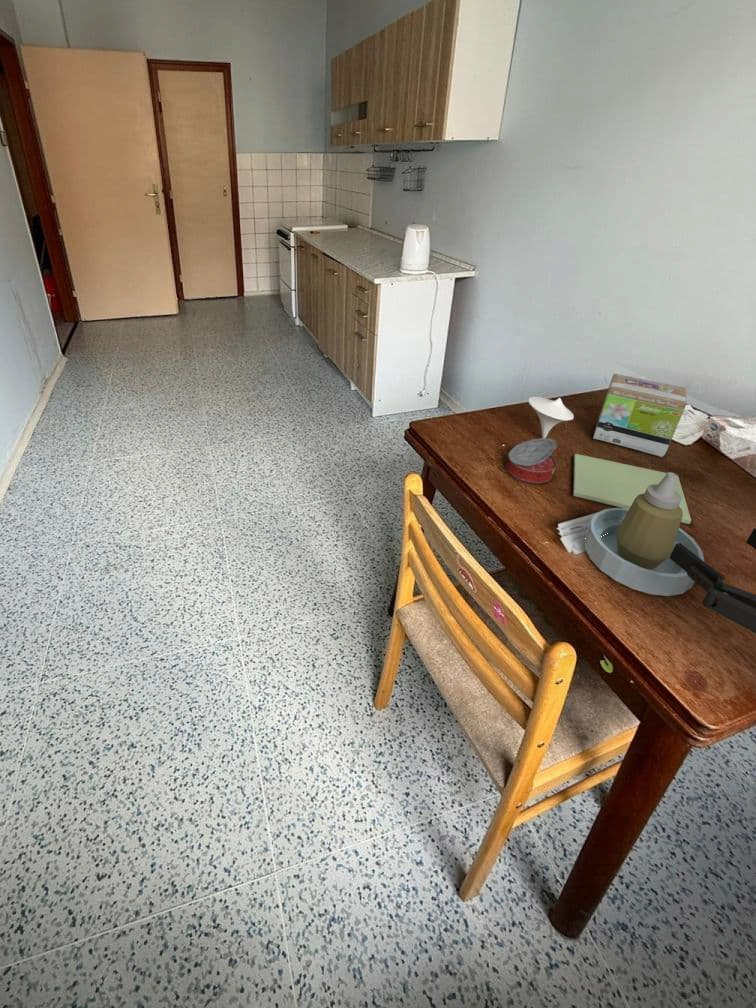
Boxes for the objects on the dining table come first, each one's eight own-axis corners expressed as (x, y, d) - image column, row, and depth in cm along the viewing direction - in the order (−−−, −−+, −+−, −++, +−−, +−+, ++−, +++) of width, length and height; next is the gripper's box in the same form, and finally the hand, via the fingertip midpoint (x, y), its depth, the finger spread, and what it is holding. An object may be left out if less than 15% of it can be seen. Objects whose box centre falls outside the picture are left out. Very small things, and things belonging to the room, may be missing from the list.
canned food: (534, 500, 105) (533, 477, 98) (497, 474, 112) (494, 450, 105) (569, 467, 106) (570, 442, 99) (531, 443, 113) (529, 419, 106)
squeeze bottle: (659, 583, 78) (700, 497, 69) (604, 559, 82) (636, 476, 74) (668, 556, 83) (707, 472, 74) (616, 534, 88) (647, 454, 79)
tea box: (591, 440, 117) (608, 386, 110) (596, 423, 125) (612, 372, 118) (664, 458, 110) (687, 402, 103) (665, 439, 117) (687, 385, 110)
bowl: (683, 544, 86) (693, 523, 84) (701, 612, 73) (714, 590, 71) (583, 518, 93) (590, 498, 90) (583, 577, 80) (591, 555, 78)
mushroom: (556, 429, 122) (567, 388, 116) (572, 452, 113) (585, 408, 107) (515, 428, 123) (524, 387, 118) (527, 451, 114) (538, 407, 108)
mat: (676, 478, 103) (678, 475, 102) (689, 524, 90) (691, 520, 90) (573, 457, 111) (574, 453, 111) (573, 495, 99) (574, 492, 98)
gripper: (794, 728, 50) (633, 576, 68) (966, 678, 54) (771, 547, 73) (829, 686, 47) (649, 537, 65) (1010, 636, 51) (793, 509, 69)
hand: (713, 542), depth 69 cm, fingers open, 13 cm apart
